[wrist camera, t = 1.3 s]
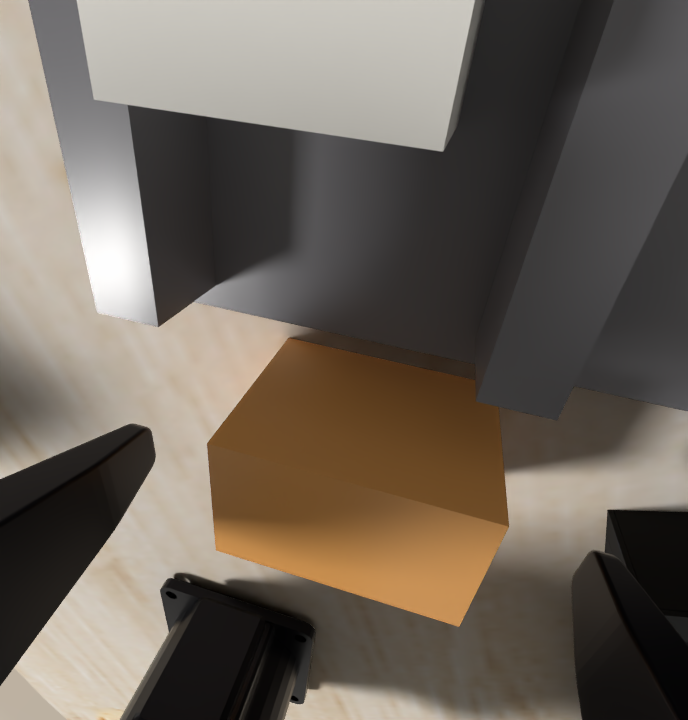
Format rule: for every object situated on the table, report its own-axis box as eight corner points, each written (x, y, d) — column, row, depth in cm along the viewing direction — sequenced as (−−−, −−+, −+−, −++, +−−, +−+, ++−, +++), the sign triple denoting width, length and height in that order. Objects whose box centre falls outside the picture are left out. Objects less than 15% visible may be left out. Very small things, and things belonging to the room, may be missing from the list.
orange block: (496, 383, 10) (508, 526, 7) (462, 474, 11) (459, 627, 8) (289, 336, 11) (207, 443, 7) (285, 428, 12) (215, 550, 9)
